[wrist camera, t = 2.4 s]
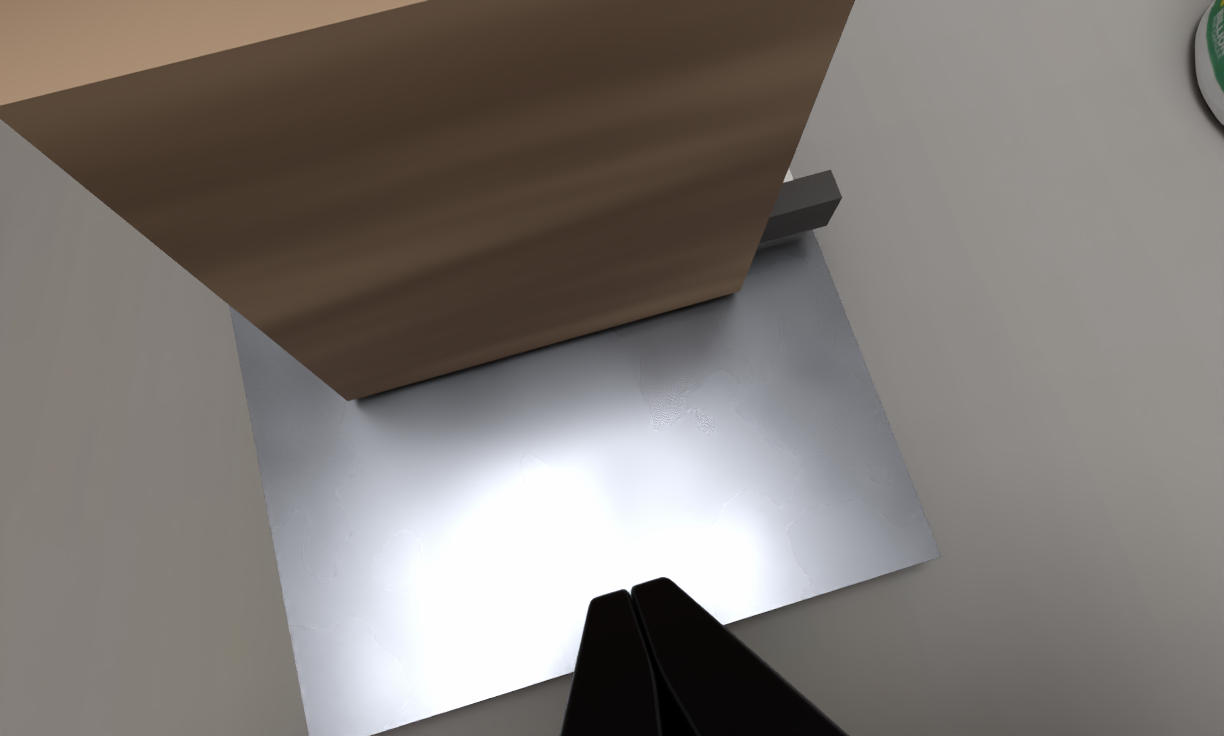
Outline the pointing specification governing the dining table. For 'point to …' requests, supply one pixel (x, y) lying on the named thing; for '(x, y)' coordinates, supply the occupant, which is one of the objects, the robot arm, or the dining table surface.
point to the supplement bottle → (1211, 57)
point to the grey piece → (573, 492)
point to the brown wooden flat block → (433, 158)
